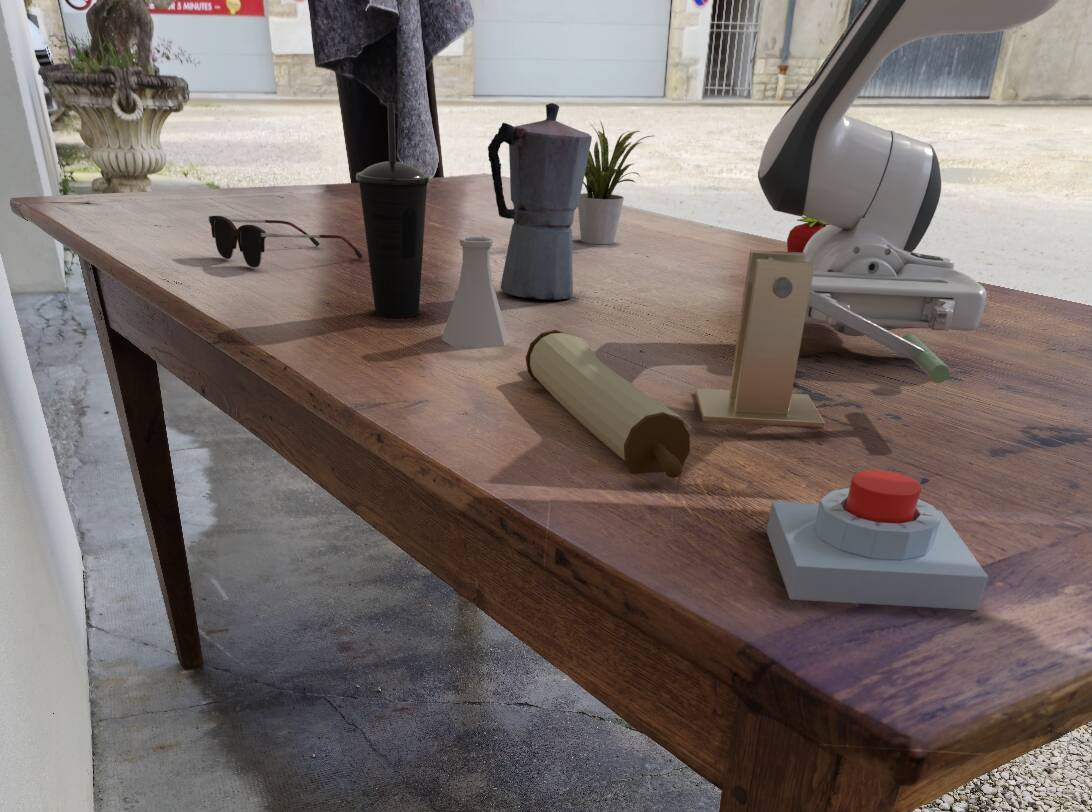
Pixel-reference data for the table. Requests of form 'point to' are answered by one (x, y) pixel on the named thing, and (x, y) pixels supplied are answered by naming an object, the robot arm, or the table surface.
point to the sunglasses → (253, 238)
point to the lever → (883, 336)
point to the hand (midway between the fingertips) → (891, 318)
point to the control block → (872, 557)
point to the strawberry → (803, 234)
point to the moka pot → (540, 203)
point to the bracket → (767, 347)
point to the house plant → (603, 191)
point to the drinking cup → (394, 230)
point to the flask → (475, 301)
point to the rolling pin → (609, 405)
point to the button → (883, 497)
